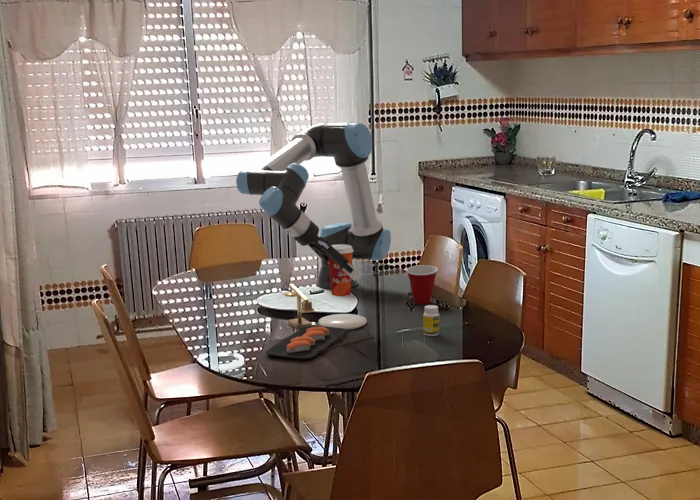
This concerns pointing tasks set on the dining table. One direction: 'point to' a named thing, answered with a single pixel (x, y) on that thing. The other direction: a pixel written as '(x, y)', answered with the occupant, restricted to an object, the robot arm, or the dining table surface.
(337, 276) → the coffee cup
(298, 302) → the balance
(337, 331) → the sushi plate
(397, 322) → the dining table surface
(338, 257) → the robot arm
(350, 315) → the white round disc
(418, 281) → the plastic cup
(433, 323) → the supplement bottle
